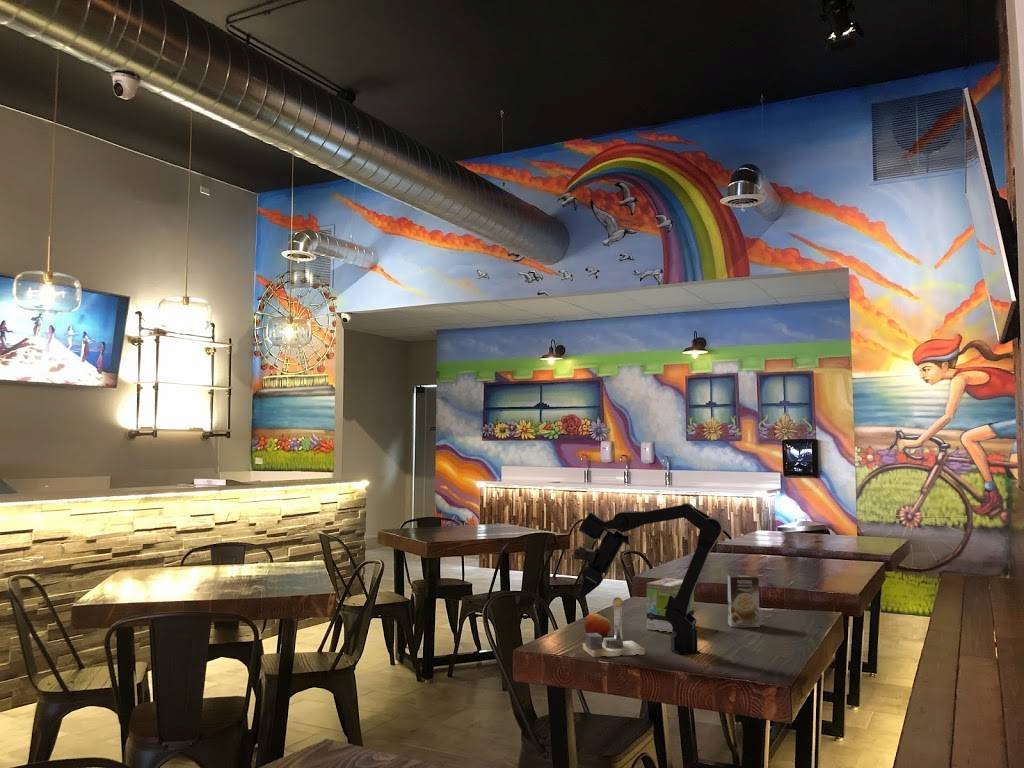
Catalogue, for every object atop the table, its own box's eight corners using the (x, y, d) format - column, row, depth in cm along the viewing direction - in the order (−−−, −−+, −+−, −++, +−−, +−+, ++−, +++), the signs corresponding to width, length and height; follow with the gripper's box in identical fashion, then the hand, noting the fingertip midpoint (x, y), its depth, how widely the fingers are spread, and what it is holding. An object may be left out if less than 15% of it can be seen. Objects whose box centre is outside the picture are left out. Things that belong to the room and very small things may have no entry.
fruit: (574, 630, 252) (586, 607, 254) (594, 642, 254) (606, 618, 256) (585, 636, 245) (598, 611, 247) (606, 648, 247) (618, 623, 249)
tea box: (674, 633, 254) (673, 585, 255) (645, 629, 260) (644, 582, 261) (695, 625, 266) (694, 579, 267) (667, 621, 272) (666, 576, 273)
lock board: (632, 645, 238) (632, 628, 239) (644, 654, 228) (644, 636, 229) (582, 648, 235) (582, 631, 235) (593, 657, 225) (593, 639, 226)
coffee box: (731, 627, 262) (729, 576, 264) (727, 623, 269) (726, 573, 270) (760, 628, 262) (758, 577, 263) (756, 623, 268) (754, 574, 269)
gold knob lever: (621, 643, 234) (620, 596, 235) (625, 646, 231) (624, 598, 232) (602, 645, 233) (601, 597, 234) (606, 647, 230) (605, 598, 231)
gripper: (588, 531, 252) (563, 575, 252) (580, 538, 233) (553, 585, 234) (620, 551, 249) (595, 595, 250) (614, 559, 231) (586, 607, 232)
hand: (582, 595), depth 241 cm, fingers open, 9 cm apart
